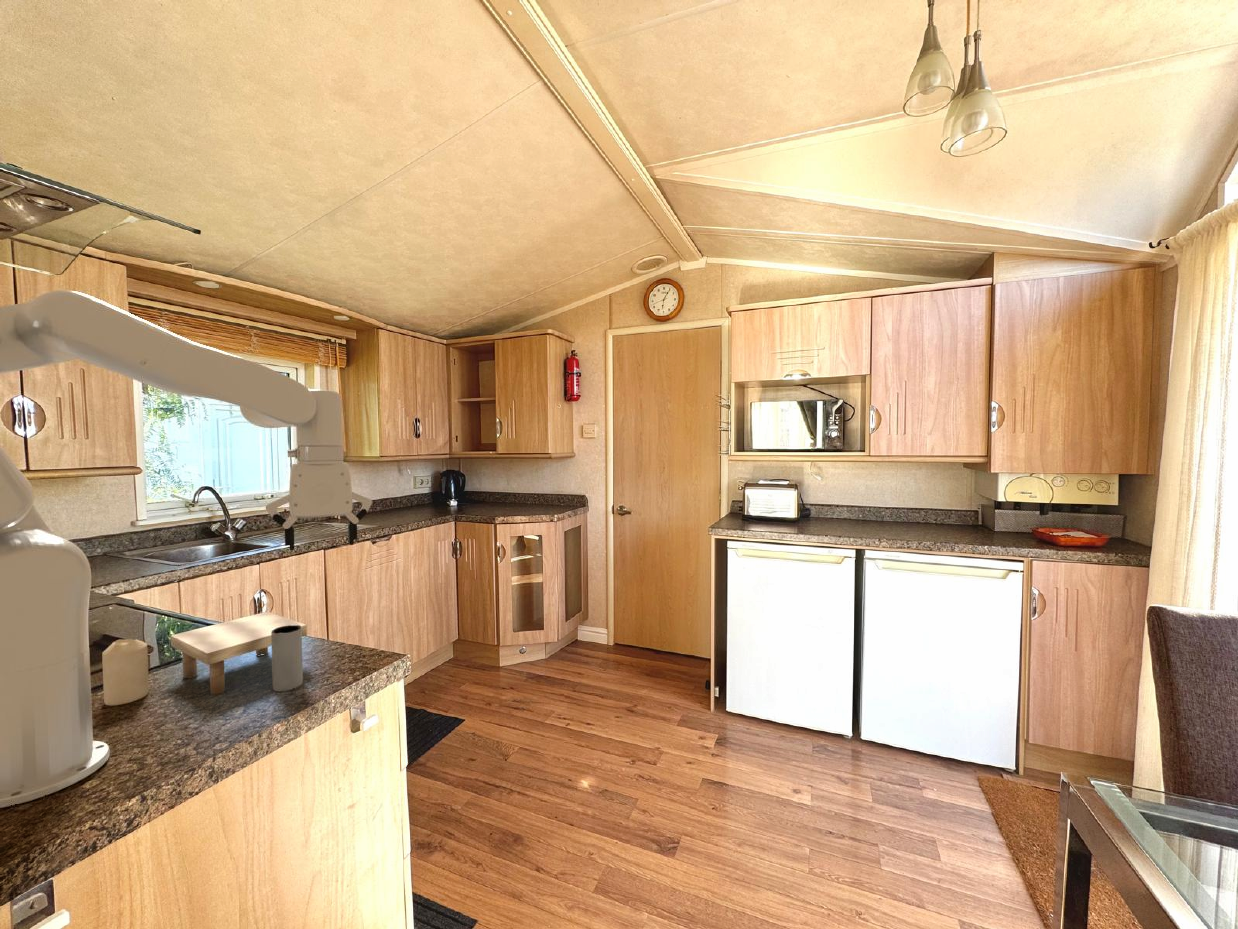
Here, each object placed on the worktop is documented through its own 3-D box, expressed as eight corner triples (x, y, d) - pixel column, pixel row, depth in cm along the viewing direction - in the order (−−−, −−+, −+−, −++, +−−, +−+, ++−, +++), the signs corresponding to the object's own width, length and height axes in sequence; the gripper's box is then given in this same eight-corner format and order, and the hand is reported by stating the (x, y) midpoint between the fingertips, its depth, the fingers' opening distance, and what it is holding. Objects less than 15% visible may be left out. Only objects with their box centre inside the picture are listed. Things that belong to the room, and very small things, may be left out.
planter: (308, 683, 92) (306, 627, 91) (281, 694, 88) (279, 635, 87) (294, 677, 94) (293, 623, 94) (267, 688, 90) (266, 630, 90)
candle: (157, 690, 90) (155, 634, 89) (128, 705, 84) (126, 646, 84) (125, 690, 89) (123, 634, 89) (94, 706, 84) (91, 647, 84)
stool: (208, 700, 86) (207, 653, 86) (172, 678, 94) (170, 635, 94) (307, 665, 99) (306, 625, 99) (268, 648, 108) (267, 611, 108)
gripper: (263, 456, 87) (265, 555, 88) (373, 455, 97) (375, 544, 97) (265, 456, 94) (267, 548, 94) (368, 455, 103) (370, 539, 104)
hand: (322, 546), depth 96 cm, fingers open, 9 cm apart
